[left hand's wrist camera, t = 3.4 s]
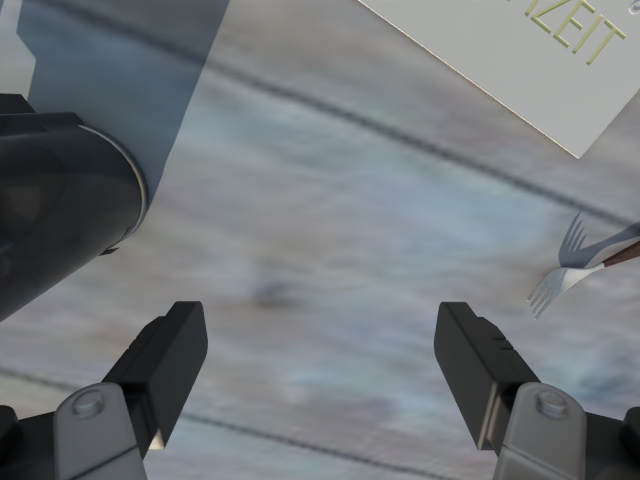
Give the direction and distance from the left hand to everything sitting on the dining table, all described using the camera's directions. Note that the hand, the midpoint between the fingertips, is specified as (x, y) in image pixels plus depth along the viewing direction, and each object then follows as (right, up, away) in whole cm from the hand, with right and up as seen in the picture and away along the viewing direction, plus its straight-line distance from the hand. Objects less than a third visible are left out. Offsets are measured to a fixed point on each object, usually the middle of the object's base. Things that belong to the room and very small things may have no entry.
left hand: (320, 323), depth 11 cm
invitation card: (+14, +20, +9) cm, 26 cm away
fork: (+24, +2, +17) cm, 29 cm away
